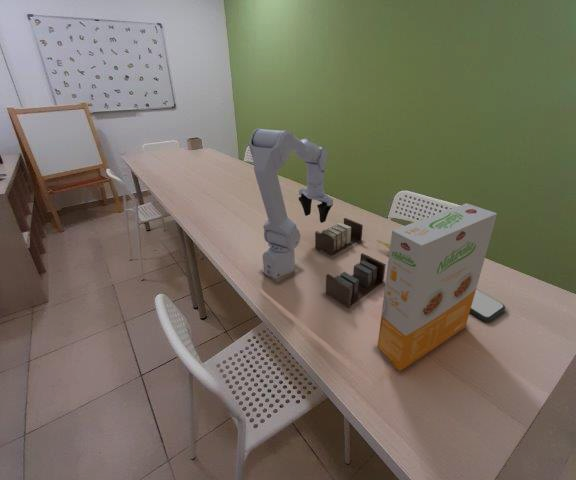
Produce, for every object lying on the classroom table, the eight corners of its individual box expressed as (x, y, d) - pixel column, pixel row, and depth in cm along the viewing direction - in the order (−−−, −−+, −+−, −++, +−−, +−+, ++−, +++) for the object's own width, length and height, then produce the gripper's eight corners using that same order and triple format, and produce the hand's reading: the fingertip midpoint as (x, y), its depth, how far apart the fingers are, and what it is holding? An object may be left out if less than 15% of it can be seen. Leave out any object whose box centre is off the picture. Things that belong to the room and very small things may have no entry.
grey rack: (347, 311, 77) (349, 289, 75) (325, 295, 83) (325, 275, 80) (383, 284, 87) (386, 264, 84) (360, 272, 92) (362, 252, 90)
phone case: (506, 310, 76) (448, 276, 89) (507, 306, 76) (449, 272, 88) (486, 324, 72) (428, 287, 85) (487, 319, 72) (429, 282, 84)
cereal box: (441, 311, 76) (466, 203, 64) (465, 327, 71) (497, 213, 59) (377, 349, 66) (392, 230, 54) (399, 371, 61) (421, 245, 49)
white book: (347, 244, 106) (348, 228, 103) (336, 239, 109) (336, 223, 107) (350, 242, 107) (351, 227, 104) (339, 237, 110) (340, 222, 108)
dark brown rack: (331, 258, 100) (332, 239, 97) (314, 249, 105) (315, 231, 102) (361, 241, 109) (363, 224, 106) (344, 234, 114) (345, 217, 112)
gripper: (339, 184, 98) (338, 221, 104) (308, 174, 108) (308, 208, 114) (324, 189, 94) (324, 227, 100) (294, 179, 104) (295, 214, 110)
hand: (315, 218), depth 106 cm, fingers open, 7 cm apart
